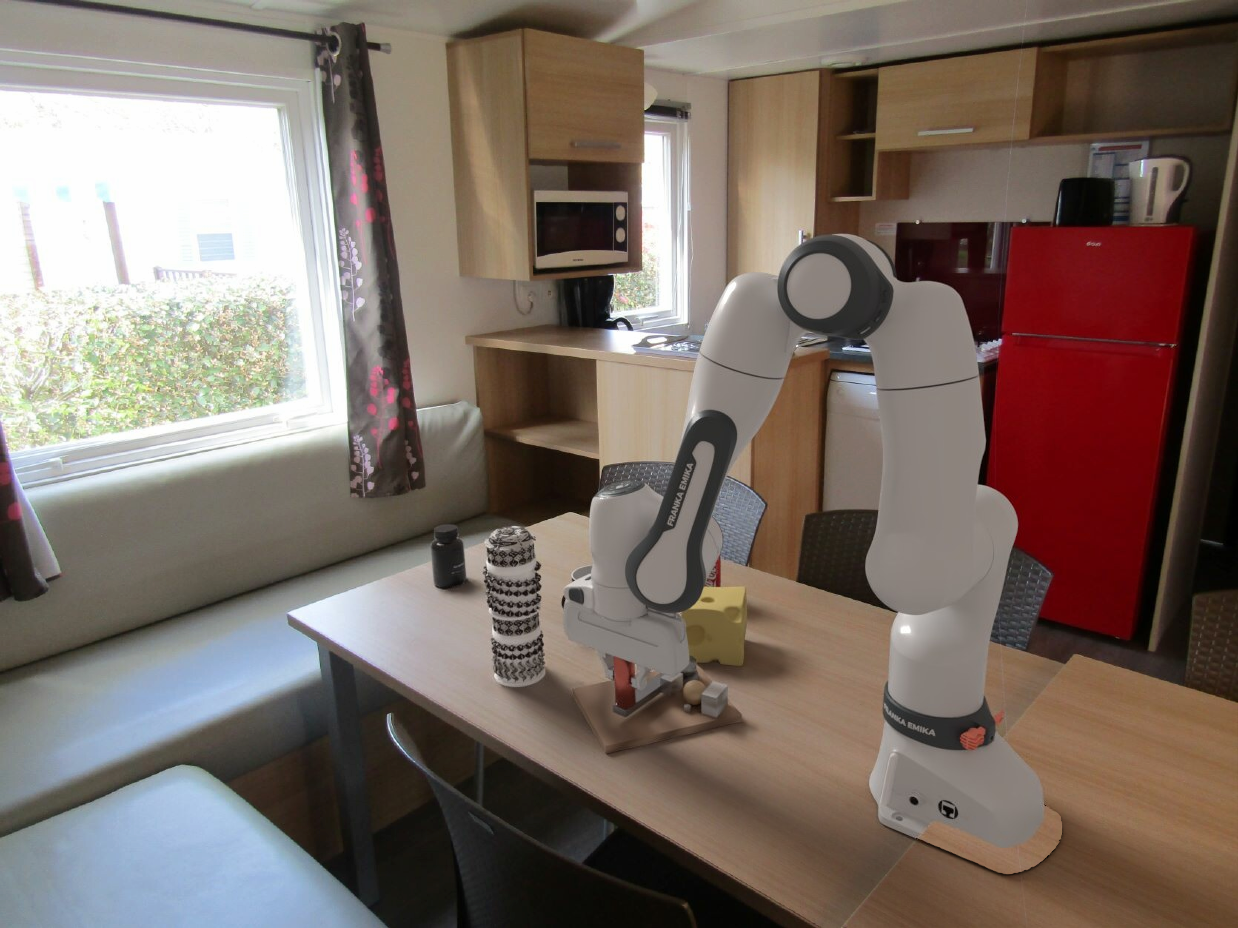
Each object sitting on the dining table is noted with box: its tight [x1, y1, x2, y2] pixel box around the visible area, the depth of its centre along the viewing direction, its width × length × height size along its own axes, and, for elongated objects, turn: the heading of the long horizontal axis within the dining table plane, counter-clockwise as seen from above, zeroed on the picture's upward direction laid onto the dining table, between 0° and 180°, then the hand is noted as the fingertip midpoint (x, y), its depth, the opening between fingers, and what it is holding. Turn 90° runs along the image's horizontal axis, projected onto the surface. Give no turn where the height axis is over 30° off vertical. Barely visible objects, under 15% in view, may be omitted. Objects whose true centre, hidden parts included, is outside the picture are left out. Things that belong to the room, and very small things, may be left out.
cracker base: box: [571, 663, 743, 755], centre depth 130 cm, size 21×16×4 cm
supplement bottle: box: [430, 523, 467, 589], centre depth 178 cm, size 7×7×12 cm
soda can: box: [704, 554, 722, 587], centre depth 165 cm, size 7×7×12 cm
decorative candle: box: [482, 525, 546, 688], centre depth 139 cm, size 9×9×25 cm
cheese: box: [680, 586, 748, 667], centre depth 146 cm, size 10×11×10 cm
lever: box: [613, 655, 697, 718], centre depth 130 cm, size 18×5×9 cm, turn 140°
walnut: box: [683, 680, 706, 705], centre depth 129 cm, size 4×4×4 cm
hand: (626, 682), depth 125 cm, fingers open, 3 cm apart
